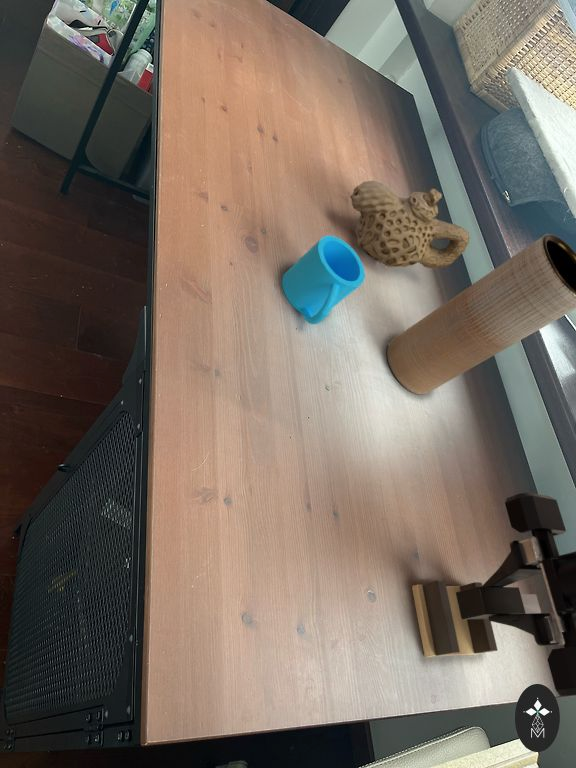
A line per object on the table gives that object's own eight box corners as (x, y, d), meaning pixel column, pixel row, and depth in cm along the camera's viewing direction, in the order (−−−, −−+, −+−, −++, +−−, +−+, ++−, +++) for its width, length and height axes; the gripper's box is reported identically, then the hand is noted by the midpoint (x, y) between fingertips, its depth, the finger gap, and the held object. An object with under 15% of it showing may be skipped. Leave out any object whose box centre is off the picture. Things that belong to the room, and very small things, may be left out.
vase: (436, 401, 96) (603, 310, 77) (391, 387, 91) (558, 285, 72) (425, 347, 101) (579, 249, 82) (381, 331, 96) (535, 221, 76)
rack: (464, 588, 81) (485, 582, 79) (479, 654, 77) (502, 650, 75) (411, 586, 76) (432, 580, 73) (424, 657, 72) (447, 653, 69)
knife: (461, 619, 65) (485, 614, 63) (455, 592, 67) (478, 586, 64) (538, 617, 73) (562, 613, 71) (531, 593, 74) (554, 588, 72)
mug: (285, 259, 89) (320, 225, 84) (329, 286, 93) (365, 255, 87) (275, 321, 82) (313, 288, 76) (323, 348, 86) (363, 318, 80)
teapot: (322, 240, 97) (389, 177, 87) (328, 195, 104) (390, 132, 94) (419, 306, 106) (490, 256, 95) (419, 261, 113) (485, 210, 102)
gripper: (706, 679, 56) (555, 693, 67) (632, 484, 65) (509, 524, 76) (647, 688, 50) (491, 702, 61) (574, 471, 59) (449, 517, 70)
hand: (487, 603), depth 67 cm, fingers closed on knife, 3 cm apart
